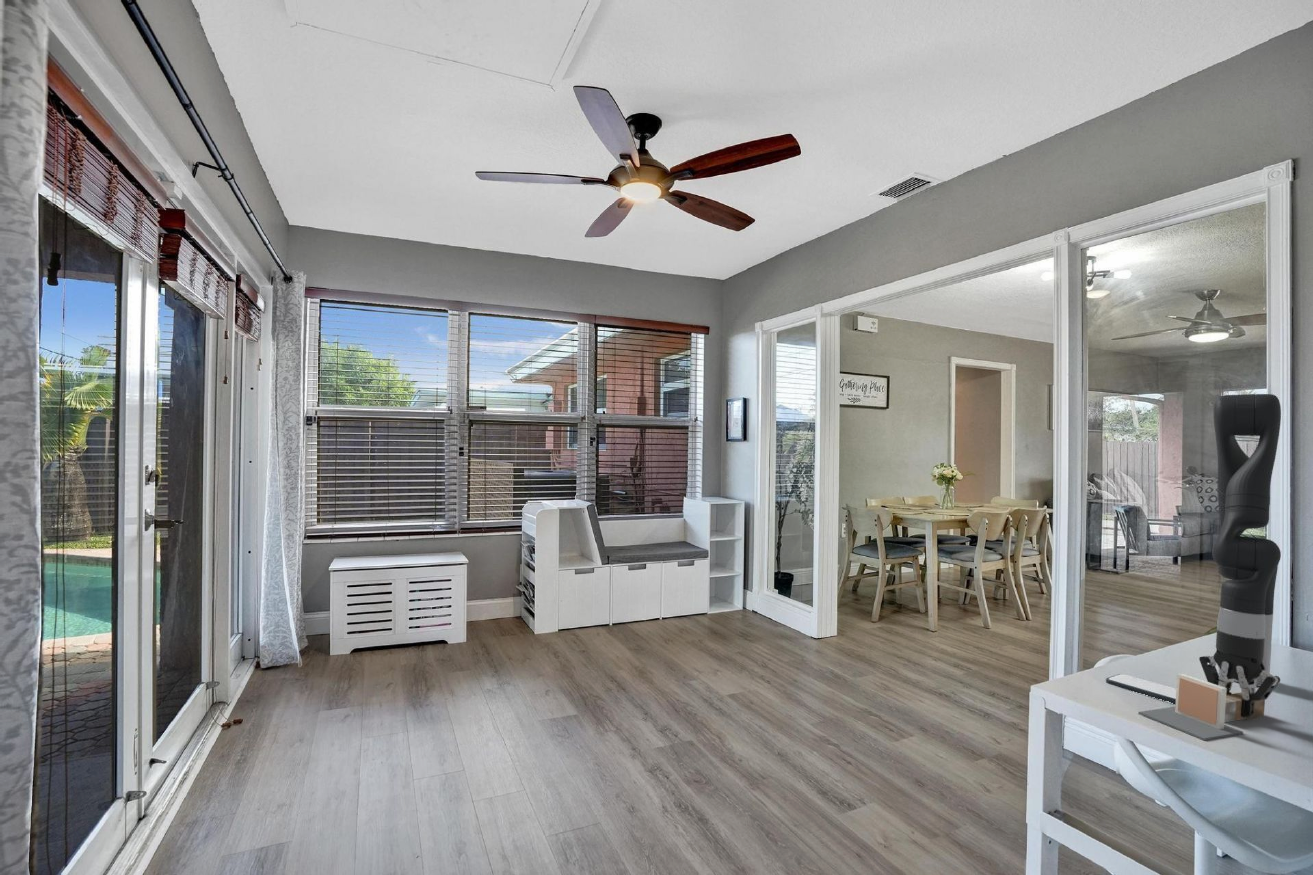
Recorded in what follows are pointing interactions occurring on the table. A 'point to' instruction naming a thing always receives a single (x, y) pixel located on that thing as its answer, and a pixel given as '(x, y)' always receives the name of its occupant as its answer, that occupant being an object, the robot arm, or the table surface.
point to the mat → (1189, 724)
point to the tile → (1201, 700)
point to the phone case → (1143, 687)
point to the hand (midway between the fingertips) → (1235, 712)
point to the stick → (1235, 707)
